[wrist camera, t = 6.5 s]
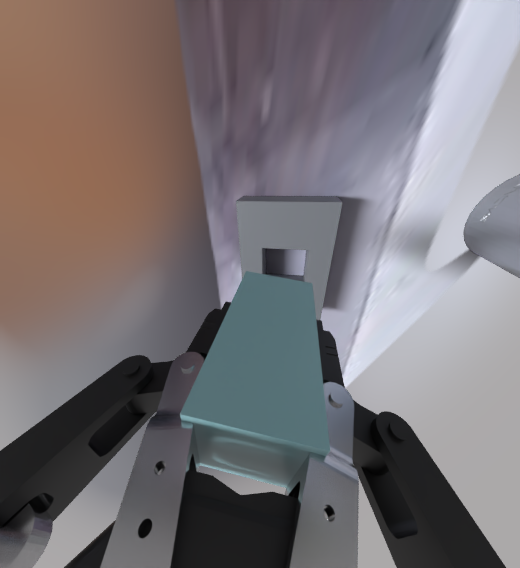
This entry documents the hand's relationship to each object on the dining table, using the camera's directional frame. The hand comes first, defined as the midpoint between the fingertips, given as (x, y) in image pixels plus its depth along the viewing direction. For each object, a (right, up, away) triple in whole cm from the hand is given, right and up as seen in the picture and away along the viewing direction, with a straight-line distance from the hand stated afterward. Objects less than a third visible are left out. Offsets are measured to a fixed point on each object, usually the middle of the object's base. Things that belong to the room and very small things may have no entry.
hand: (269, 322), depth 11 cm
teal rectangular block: (0, +1, +2) cm, 2 cm away
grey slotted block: (+3, +6, +16) cm, 18 cm away
